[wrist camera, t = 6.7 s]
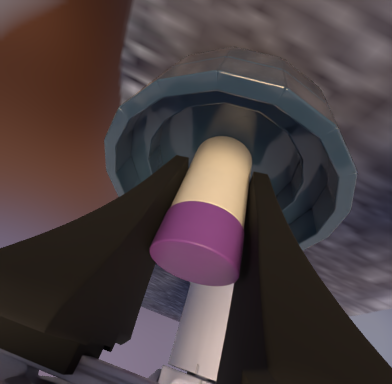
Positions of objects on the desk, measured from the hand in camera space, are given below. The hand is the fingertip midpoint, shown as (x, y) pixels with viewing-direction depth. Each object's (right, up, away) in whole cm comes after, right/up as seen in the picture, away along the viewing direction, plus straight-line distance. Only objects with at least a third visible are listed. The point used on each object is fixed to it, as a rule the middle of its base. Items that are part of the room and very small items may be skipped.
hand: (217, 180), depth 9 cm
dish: (+1, +1, +1) cm, 2 cm away
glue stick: (0, +1, +1) cm, 2 cm away
